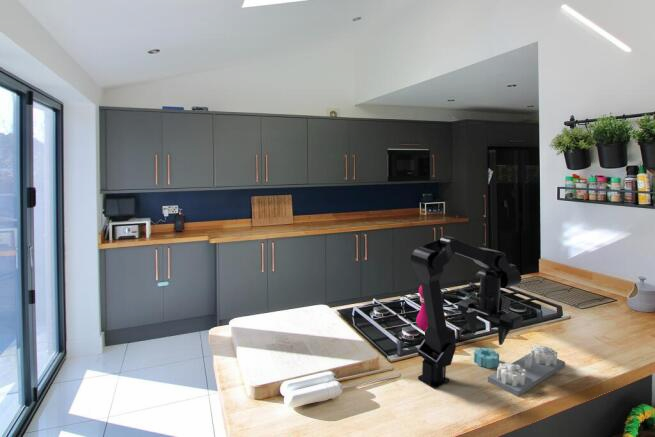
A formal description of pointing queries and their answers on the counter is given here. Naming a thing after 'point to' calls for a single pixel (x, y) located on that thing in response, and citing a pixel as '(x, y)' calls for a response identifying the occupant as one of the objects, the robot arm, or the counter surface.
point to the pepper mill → (422, 313)
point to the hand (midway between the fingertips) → (487, 338)
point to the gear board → (527, 370)
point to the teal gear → (486, 358)
